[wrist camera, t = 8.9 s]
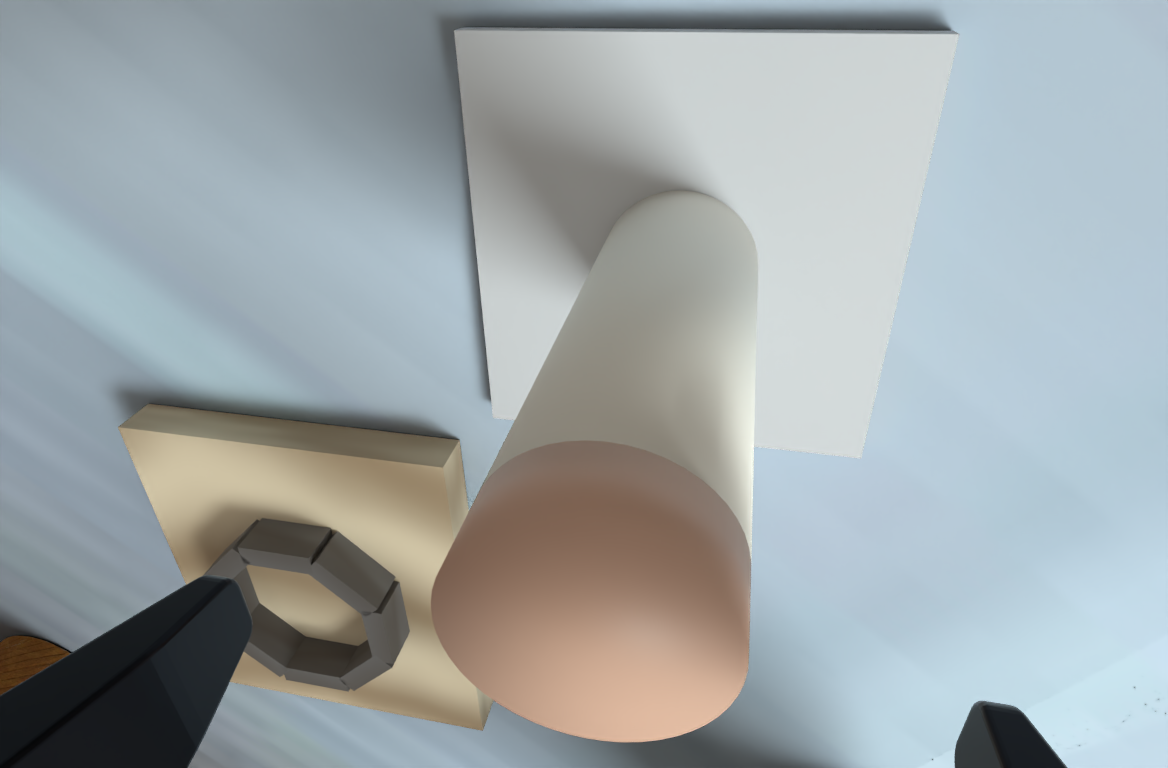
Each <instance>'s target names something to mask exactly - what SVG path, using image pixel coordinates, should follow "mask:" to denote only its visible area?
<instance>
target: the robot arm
mask: <svg viewBox="0 0 1168 768" xmlns="http://www.w3.org/2000/svg"><path fill="white" fill-rule="evenodd" d="M252 626H253V622H252V617H251V614H250V611H249V609H248V606H247V604H246V601H245V598H244V596H243V593H242V591H241V588H240V586H239V584H238V582H237V581H236V580H234V579H232V578H228V577H222V576H216V575H204V576H201V577H199V578H197V579H195V580H193V581H192V582H190V583H188V584H187V585H185V586H183V587H182V588H180V589H178V590H177V591H175V592H173V593H172V594H170V595H168V596H166V597H165V598H163V599H161V600H160V601H158V602H156V603H155V604H153V605H151V606H150V607H148V608H146V609H145V610H143V611H141V612H140V613H138V614H136V615H135V616H133V617H131V618H129V619H128V620H126V621H124V622H123V623H121V624H119V625H118V626H116V627H114V628H113V629H111V630H109V631H108V632H106V633H104V634H103V635H101V636H99V637H98V638H96V639H94V640H92V641H91V642H89V643H87V644H86V645H84V646H82V647H81V648H79V649H77V650H76V651H74V652H72V653H71V654H69V655H67V656H66V657H64V658H62V659H61V660H59V661H57V662H55V663H54V664H52V665H50V666H49V667H47V668H45V669H44V670H42V671H40V672H39V673H37V674H35V675H34V676H32V677H30V678H29V679H27V680H25V681H24V682H22V683H20V684H18V685H17V686H15V687H13V688H12V689H10V690H8V691H7V692H5V693H3V694H2V695H0V768H188V766H189V764H190V762H191V760H192V759H193V757H194V755H195V753H196V751H197V750H198V748H199V746H200V744H201V742H202V740H203V738H204V736H205V734H206V732H207V730H208V727H209V725H210V723H211V721H212V719H213V717H214V715H215V712H216V710H217V708H218V706H219V704H220V702H221V699H222V697H223V695H224V693H225V691H226V689H227V687H228V684H229V682H230V680H231V678H232V676H233V674H234V672H235V669H236V667H237V665H238V663H239V661H240V659H241V656H242V654H243V652H244V650H245V648H246V646H247V644H248V641H249V639H250V636H251V633H252ZM955 768H1067V767H1066V765H1065V764H1064V763H1063V762H1062V760H1061V759H1060V758H1059V757H1058V755H1057V754H1056V753H1055V752H1054V750H1053V749H1052V748H1051V747H1050V745H1049V744H1048V743H1047V742H1046V740H1045V739H1044V738H1043V737H1042V735H1041V734H1040V733H1039V732H1038V730H1037V729H1036V728H1035V727H1034V725H1033V724H1032V723H1031V722H1030V720H1029V719H1028V718H1027V717H1026V715H1025V714H1024V713H1023V712H1022V711H1021V710H1019V709H1018V708H1016V707H1014V706H1011V705H1006V704H1000V703H993V702H987V701H978V702H976V703H975V704H974V705H973V707H972V708H971V710H970V713H969V715H968V717H967V720H966V722H965V724H964V727H963V729H962V731H961V734H960V736H959V738H958V740H957V743H956V748H955Z"/></svg>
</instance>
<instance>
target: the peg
mask: <svg viewBox="0 0 1168 768" xmlns="http://www.w3.org/2000/svg"><path fill="white" fill-rule="evenodd" d="M757 296H758V254H757V249H756V245H755V242H754V239H753V237H752V234H751V232H750V231H749V229H748V227H747V225H746V224H745V223H744V221H743V220H742V219H741V218H740V216H739V215H738V214H736V213H735V212H734V211H733V210H732V209H731V208H730V207H728V206H727V205H726V204H724V203H723V202H721V201H719V200H717V199H715V198H713V197H710V196H708V195H705V194H702V193H698V192H693V191H684V190H678V191H667V192H661V193H657V194H654V195H651V196H649V197H646V198H644V199H642V200H640V201H639V202H637V203H635V204H634V205H632V206H631V207H630V208H629V209H627V210H626V211H625V212H624V213H623V214H622V215H621V216H620V217H619V219H618V220H617V221H616V223H615V224H614V226H613V228H612V229H611V231H610V233H609V235H608V237H607V239H606V241H605V243H604V245H603V247H602V249H601V251H600V253H599V255H598V257H597V259H596V261H595V263H594V265H593V267H592V269H591V271H590V273H589V275H588V277H587V279H586V281H585V283H584V285H583V287H582V289H581V291H580V293H579V295H578V297H577V299H576V301H575V303H574V305H573V306H572V308H571V310H570V312H569V314H568V316H567V318H566V320H565V322H564V324H563V326H562V328H561V330H560V332H559V334H558V336H557V338H556V340H555V342H554V344H553V346H552V348H551V350H550V352H549V354H548V356H547V358H546V360H545V362H544V364H543V366H542V368H541V370H540V372H539V374H538V376H537V378H536V380H535V382H534V384H533V386H532V388H531V390H530V392H529V394H528V396H527V398H526V400H525V402H524V404H523V405H522V407H521V409H520V411H519V413H518V415H517V417H516V419H515V421H514V423H513V425H512V427H511V429H510V431H509V433H508V435H507V437H506V439H505V441H504V443H503V445H502V447H501V449H500V451H499V453H498V455H497V457H496V459H495V461H494V463H493V465H492V467H491V469H490V471H489V473H488V475H487V477H486V479H485V481H484V483H483V485H482V487H481V489H480V491H479V493H478V495H477V497H476V499H475V501H474V503H473V505H472V506H471V508H470V510H469V512H468V514H467V516H466V518H465V520H464V522H463V524H462V526H461V528H460V530H459V532H458V534H457V536H456V538H455V540H454V542H453V544H452V546H451V548H450V550H449V552H448V554H447V556H446V558H445V560H444V562H443V564H442V566H441V568H440V570H439V572H438V574H437V576H436V578H435V581H434V585H433V588H432V594H431V614H432V620H433V624H434V627H435V631H436V634H437V636H438V638H439V640H440V643H441V645H442V647H443V648H444V650H445V651H446V653H447V655H448V656H449V658H450V659H451V661H452V662H453V663H454V664H455V666H456V667H457V668H458V669H459V671H460V672H461V673H462V674H463V675H464V676H465V677H466V678H467V679H468V680H469V681H470V682H471V683H472V684H473V685H475V686H476V687H477V688H478V689H479V690H481V691H482V692H483V693H484V694H485V695H487V696H488V697H490V698H491V699H493V700H494V701H495V702H497V703H498V704H500V705H501V706H503V707H505V708H507V709H508V710H510V711H512V712H513V713H515V714H517V715H519V716H521V717H523V718H525V719H528V720H530V721H532V722H534V723H537V724H539V725H542V726H544V727H547V728H550V729H553V730H556V731H559V732H563V733H566V734H570V735H574V736H578V737H583V738H588V739H594V740H601V741H612V742H646V741H655V740H662V739H667V738H672V737H676V736H679V735H682V734H685V733H689V732H692V731H694V730H696V729H698V728H700V727H702V726H705V725H706V724H708V723H709V722H711V721H713V720H714V719H716V718H717V717H719V716H720V715H721V714H722V713H723V712H724V711H725V710H727V709H728V708H729V707H730V705H731V704H732V703H733V702H734V700H735V699H736V698H737V697H738V695H739V693H740V691H741V689H742V687H743V685H744V683H745V679H746V676H747V672H748V663H749V631H750V589H751V547H752V505H753V463H754V421H755V379H756V338H757Z"/></svg>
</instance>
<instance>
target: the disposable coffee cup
mask: <svg viewBox="0 0 1168 768" xmlns="http://www.w3.org/2000/svg"><path fill="white" fill-rule="evenodd" d="M69 654H71V653H69V652H68V651H66V650H64V649H62V648H60V647H58V646H56V645H54V644H51V643H49V642H47V641H44V640H40V639H37V638H33V637H27V636H11V637H8V638H6V639H4V640H3V641H2V642H1V643H0V695H2V694H3V693H5V692H7V691H8V690H10V689H12V688H13V687H15V686H17V685H18V684H20V683H22V682H24V681H25V680H27V679H29V678H30V677H32V676H34V675H35V674H37V673H39V672H40V671H42V670H44V669H45V668H47V667H49V666H50V665H52V664H54V663H55V662H57V661H59V660H61V659H62V658H64V657H66V656H67V655H69Z"/></svg>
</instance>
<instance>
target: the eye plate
mask: <svg viewBox="0 0 1168 768" xmlns="http://www.w3.org/2000/svg"><path fill="white" fill-rule="evenodd" d="M118 428H119V431H120V433H121V435H122V438H123V440H124V442H125V445H126V447H127V449H128V451H129V454H130V456H131V458H132V461H133V463H134V465H135V468H136V470H137V472H138V474H139V477H140V479H141V481H142V484H143V486H144V488H145V491H146V493H147V495H148V497H149V500H150V502H151V504H152V507H153V509H154V511H155V514H156V516H157V518H158V521H159V523H160V525H161V527H162V530H163V532H164V534H165V537H166V539H167V541H168V544H169V546H170V548H171V550H172V553H173V555H174V557H175V560H176V562H177V564H178V567H179V569H180V571H181V574H182V576H183V578H184V580H185V583H186V585H187V584H188V583H190V582H192V581H193V580H195V579H197V578H199V577H201V576H204V575H216V576H222V577H228V578H232V579H234V580H236V581H237V582H238V584H239V586H240V588H241V591H242V593H243V596H244V598H245V601H246V604H247V606H248V609H249V611H250V614H251V617H252V622H253V626H252V633H251V636H250V639H249V641H248V644H247V646H246V648H245V650H244V652H243V654H242V656H241V659H240V661H239V663H238V665H237V667H236V669H235V672H234V674H233V676H232V678H231V680H230V682H234V683H239V684H244V685H249V686H254V687H260V688H265V689H270V690H275V691H280V692H285V693H291V694H296V695H301V696H306V697H311V698H317V699H322V700H327V701H332V702H337V703H342V704H348V705H353V706H358V707H363V708H368V709H374V710H379V711H384V712H389V713H394V714H399V715H405V716H410V717H415V718H420V719H425V720H430V721H436V722H441V723H446V724H451V725H456V726H462V727H467V728H472V729H477V730H482V731H483V729H484V726H485V723H486V720H487V717H488V714H489V712H490V709H491V706H492V703H493V699H491V698H490V697H488V696H487V695H485V694H484V693H483V692H482V691H481V690H479V689H478V688H477V687H476V686H475V685H473V684H472V683H471V682H470V681H469V680H468V679H467V678H466V677H465V676H464V675H463V674H462V673H461V672H460V671H459V669H458V668H457V667H456V666H455V664H454V663H453V662H452V661H451V659H450V658H449V656H448V655H447V653H446V651H445V650H444V648H443V647H442V645H441V643H440V640H439V638H438V636H437V634H436V631H435V627H434V624H433V620H432V614H431V594H432V588H433V585H434V581H435V578H436V576H437V574H438V572H439V570H440V568H441V566H442V564H443V562H444V560H445V558H446V556H447V554H448V552H449V550H450V548H451V546H452V544H453V542H454V540H455V538H456V536H457V534H458V532H459V530H460V528H461V526H462V524H463V522H464V520H465V518H466V516H467V514H468V512H469V508H468V500H467V493H466V485H465V478H464V470H463V463H462V455H461V448H460V440H455V439H446V438H437V437H429V436H420V435H412V434H403V433H395V432H386V431H377V430H369V429H360V428H352V427H343V426H335V425H326V424H318V423H309V422H300V421H292V420H283V419H275V418H266V417H258V416H249V415H241V414H232V413H223V412H215V411H206V410H198V409H189V408H181V407H172V406H164V405H155V404H147V405H146V406H145V407H143V408H142V409H141V410H139V411H138V412H137V413H136V414H134V415H133V416H132V417H130V418H129V419H128V420H127V421H125V422H124V423H123V424H121V425H120V426H119V427H118Z"/></svg>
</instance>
